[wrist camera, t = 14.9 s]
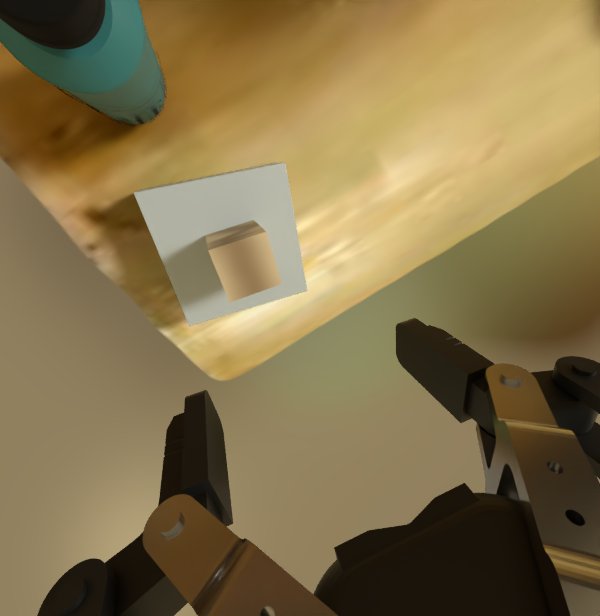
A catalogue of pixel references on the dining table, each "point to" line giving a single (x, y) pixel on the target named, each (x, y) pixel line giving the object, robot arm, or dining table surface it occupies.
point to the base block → (214, 217)
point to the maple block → (243, 260)
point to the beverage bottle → (88, 53)
